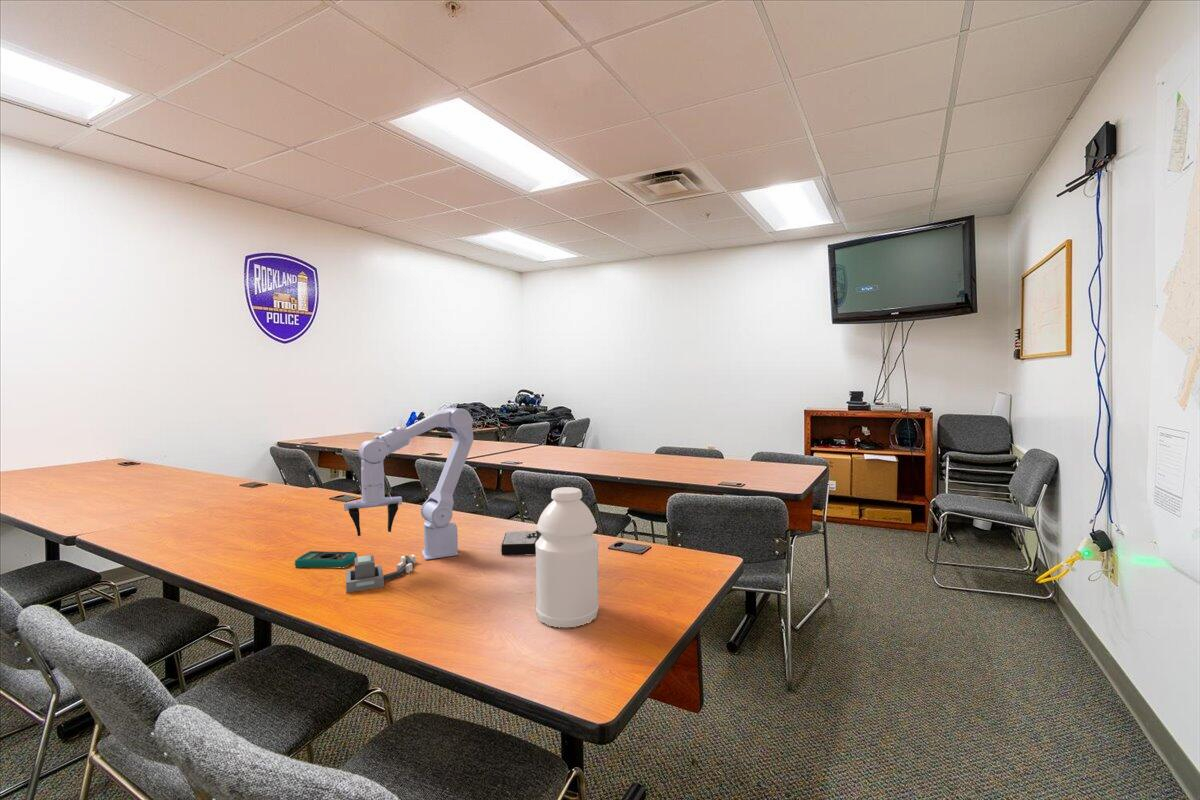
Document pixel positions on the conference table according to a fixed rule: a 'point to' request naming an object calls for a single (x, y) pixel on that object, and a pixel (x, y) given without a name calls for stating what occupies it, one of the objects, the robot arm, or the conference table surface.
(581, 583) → the bottle
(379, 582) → the frame
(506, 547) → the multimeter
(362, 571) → the connector block
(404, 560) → the routed cable
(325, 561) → the digital multimeter
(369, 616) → the conference table surface
